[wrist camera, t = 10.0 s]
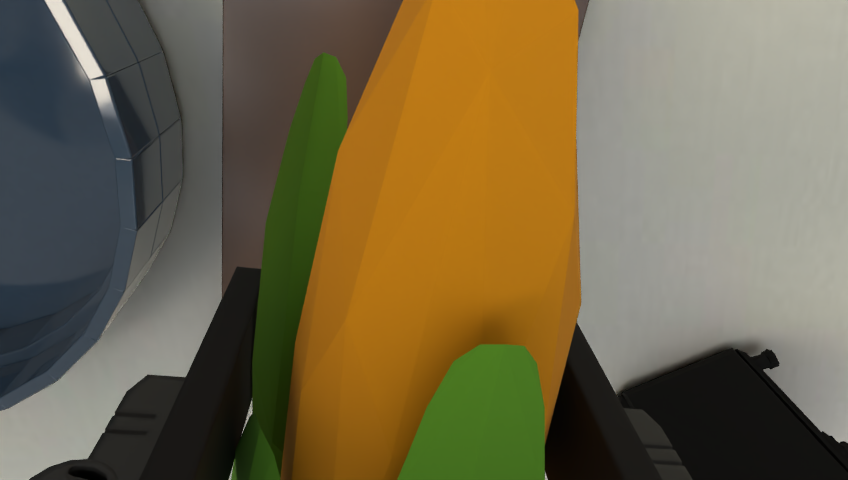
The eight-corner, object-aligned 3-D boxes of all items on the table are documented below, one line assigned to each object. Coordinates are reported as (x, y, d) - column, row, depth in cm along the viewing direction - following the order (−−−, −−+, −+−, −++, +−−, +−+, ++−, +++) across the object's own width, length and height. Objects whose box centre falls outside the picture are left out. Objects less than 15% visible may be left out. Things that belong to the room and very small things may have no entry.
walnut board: (228, 362, 30) (221, 381, 29) (233, -171, 20) (223, -181, 19) (478, 380, 32) (483, 398, 31) (601, -96, 22) (615, -100, 21)
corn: (200, 876, 12) (112, -291, 4) (246, 552, 19) (253, -138, 10) (515, 829, 14) (977, -95, 5) (455, 544, 21) (614, -69, 12)
